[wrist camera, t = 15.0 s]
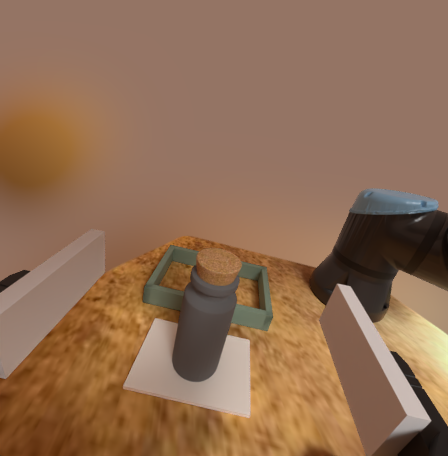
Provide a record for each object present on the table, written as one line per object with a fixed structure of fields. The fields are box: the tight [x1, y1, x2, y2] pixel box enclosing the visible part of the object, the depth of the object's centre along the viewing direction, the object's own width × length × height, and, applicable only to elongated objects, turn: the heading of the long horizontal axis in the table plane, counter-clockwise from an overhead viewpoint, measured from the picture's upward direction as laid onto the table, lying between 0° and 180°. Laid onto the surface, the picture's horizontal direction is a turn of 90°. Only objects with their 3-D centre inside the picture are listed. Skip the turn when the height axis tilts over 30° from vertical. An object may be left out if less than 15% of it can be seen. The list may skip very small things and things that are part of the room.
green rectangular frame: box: [143, 245, 273, 331], centre depth 44 cm, size 20×14×3 cm
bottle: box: [172, 248, 242, 382], centre depth 28 cm, size 6×6×15 cm
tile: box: [123, 318, 250, 418], centre depth 31 cm, size 14×10×1 cm
